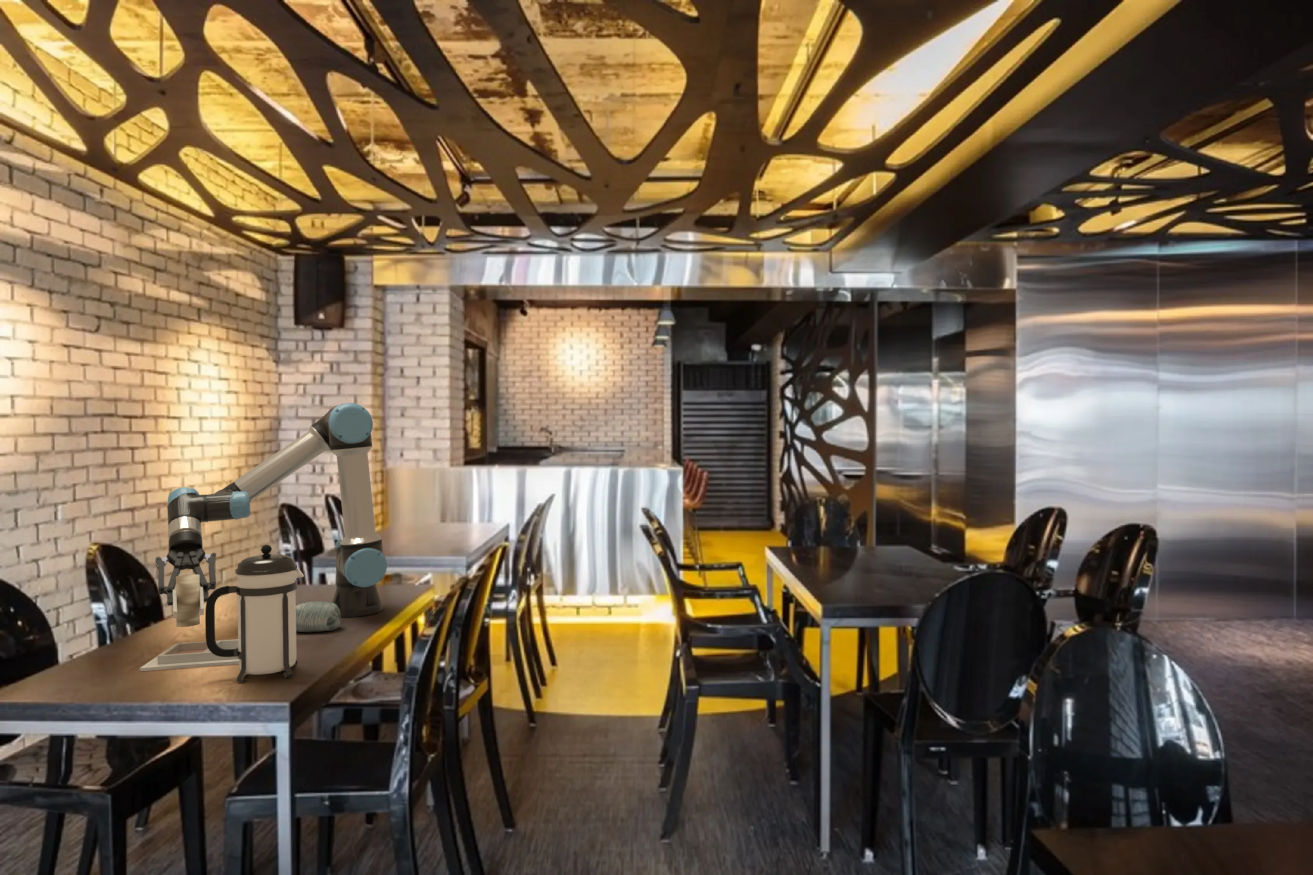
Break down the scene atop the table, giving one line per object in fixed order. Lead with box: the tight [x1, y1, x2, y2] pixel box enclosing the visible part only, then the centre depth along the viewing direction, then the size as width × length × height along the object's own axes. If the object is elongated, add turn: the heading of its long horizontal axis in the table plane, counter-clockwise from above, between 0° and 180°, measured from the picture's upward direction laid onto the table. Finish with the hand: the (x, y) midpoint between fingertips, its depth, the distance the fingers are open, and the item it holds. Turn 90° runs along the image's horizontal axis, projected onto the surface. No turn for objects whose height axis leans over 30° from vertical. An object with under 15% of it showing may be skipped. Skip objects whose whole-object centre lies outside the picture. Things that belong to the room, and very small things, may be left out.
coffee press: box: [204, 544, 304, 684], centre depth 180 cm, size 17×16×30 cm
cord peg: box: [175, 573, 201, 628], centre depth 193 cm, size 5×5×12 cm
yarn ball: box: [296, 600, 342, 633], centre depth 221 cm, size 14×10×10 cm
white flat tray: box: [139, 638, 239, 672], centre depth 195 cm, size 26×16×3 cm, turn 103°
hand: (188, 613), depth 190 cm, fingers closed on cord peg, 5 cm apart
